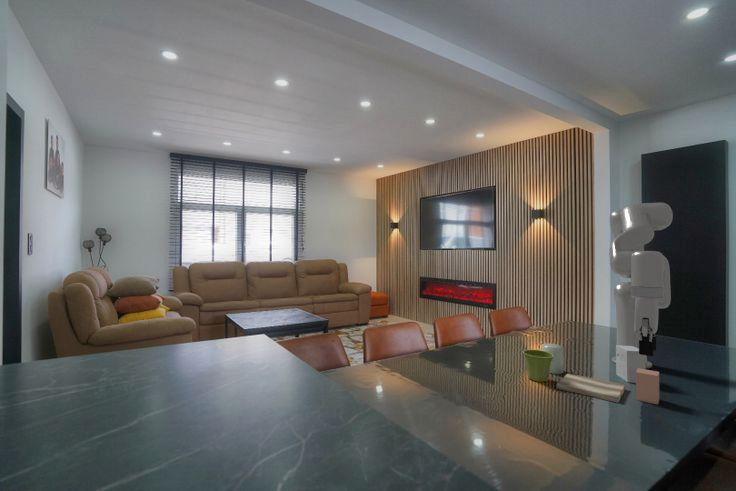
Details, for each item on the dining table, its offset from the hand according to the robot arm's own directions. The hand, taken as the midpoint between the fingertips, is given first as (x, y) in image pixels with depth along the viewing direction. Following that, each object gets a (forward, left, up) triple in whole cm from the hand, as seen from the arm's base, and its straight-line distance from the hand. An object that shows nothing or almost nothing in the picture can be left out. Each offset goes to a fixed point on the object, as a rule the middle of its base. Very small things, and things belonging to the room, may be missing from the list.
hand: (647, 352), depth 106 cm
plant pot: (+3, -29, -14) cm, 32 cm away
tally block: (-1, 0, -14) cm, 14 cm away
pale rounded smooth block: (-10, -28, -14) cm, 33 cm away
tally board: (+1, -14, -14) cm, 20 cm away
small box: (-19, -6, -14) cm, 24 cm away
